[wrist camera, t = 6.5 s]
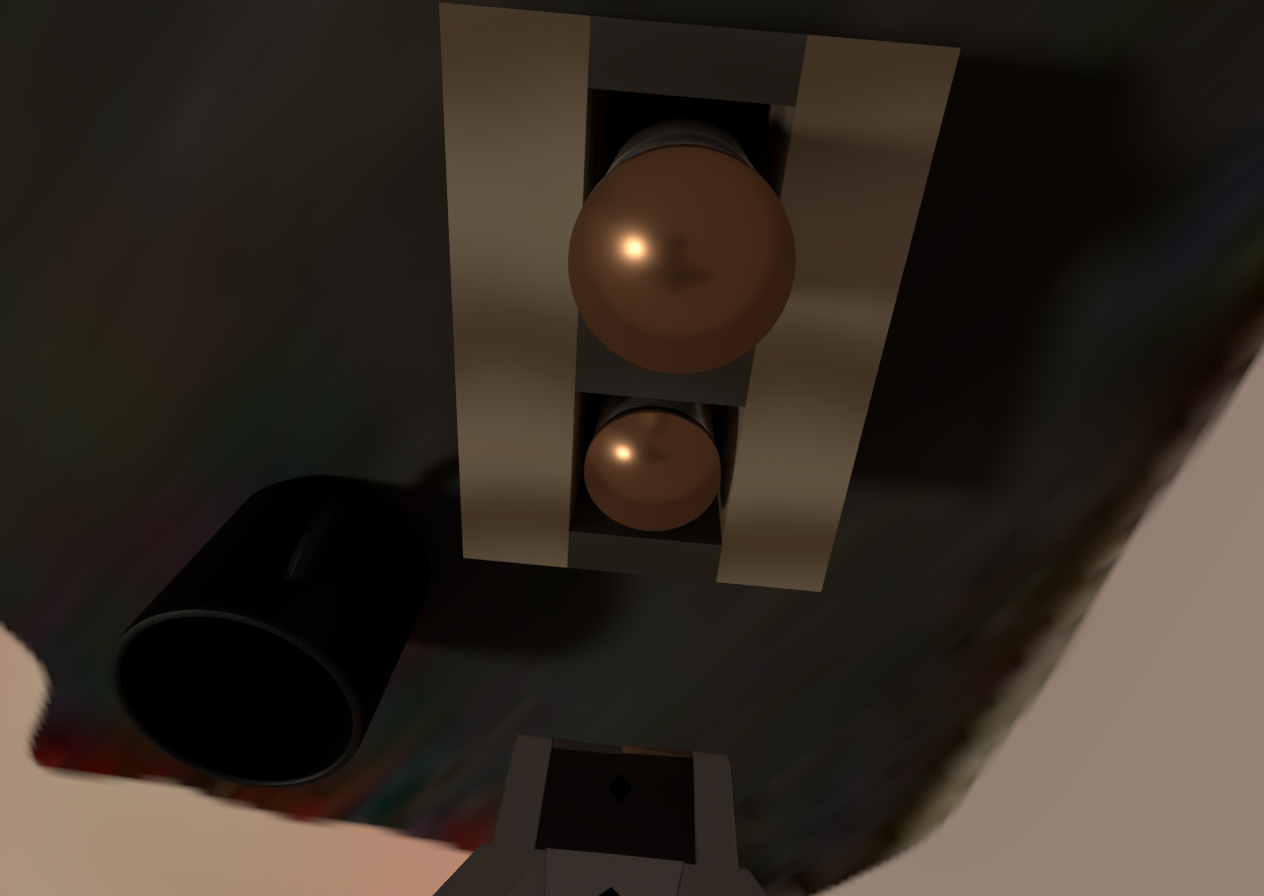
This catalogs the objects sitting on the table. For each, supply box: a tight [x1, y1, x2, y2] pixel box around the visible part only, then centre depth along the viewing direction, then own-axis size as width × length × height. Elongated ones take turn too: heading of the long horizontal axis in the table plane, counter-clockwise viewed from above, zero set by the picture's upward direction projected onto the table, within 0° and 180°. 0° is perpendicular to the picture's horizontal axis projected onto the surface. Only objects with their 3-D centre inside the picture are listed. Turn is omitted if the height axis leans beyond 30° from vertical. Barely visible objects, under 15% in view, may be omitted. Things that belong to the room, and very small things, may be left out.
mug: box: [109, 478, 430, 788], centre depth 31 cm, size 9×12×9 cm
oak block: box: [439, 3, 961, 592], centre depth 24 cm, size 16×12×8 cm
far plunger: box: [584, 394, 721, 531], centre depth 26 cm, size 4×4×8 cm
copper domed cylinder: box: [568, 114, 796, 374], centre depth 17 cm, size 4×4×8 cm
